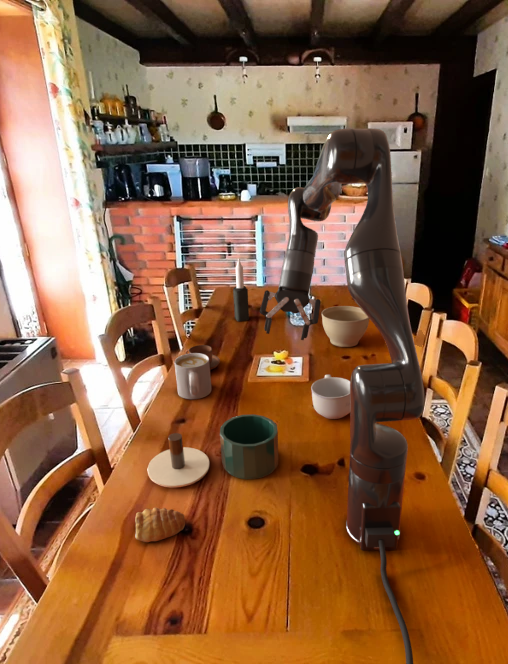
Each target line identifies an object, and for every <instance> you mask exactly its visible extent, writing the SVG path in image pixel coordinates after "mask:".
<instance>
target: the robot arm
mask: <svg viewBox="0 0 508 664" xmlns="http://www.w3.org/2000/svg"><path fill="white" fill-rule="evenodd" d="M391 157H392V156H391V147H390V142H389V139H388V136H387V134H386V132H385V131H384V130H382V129H380V128H373V127H371V128H340V129H339V128H338V129H335V130H333V131H332V132H330V134H329V135H328V136H327V137H326V139H325V141H324V144H323V145H322V148H321V151H320V154H319V157H318V159H317V163H316V165H315V166H316V167H315V169H314V173H313V175H312V177H311V178H310V180H308V182H307V183H306V185H305V186H304V187H300V186H299V187H298V186H297V187H295V188H294V189H293V190H292V191H291V192H290V193H289V195H288V199H287V213H288V221H289V223H288V225H289V226H288V227H289V228H288V230H289V231H288V239H287V246H286V251H285V255H284V258H283V262H282V267H281V272H280V278H279V283H278V287H277V288H278V289H277V291H276V292H273V291H269V290H267V289H266V290H264V292H263V293H264V294H263V297H262V301H261V305H260V309H259V314H260V315H262V316H263V317H265V322H264V327H263V329H264V331H265V332H266V333H265V334H267V335H270V332H271V328H272V321H273V319H272V318H273V317H274V316H275V315H277V313H278V312H279V311H282V312H284V313H291V314H299V316H300V317H301V319H302V321H303V322H304V323H303V325H302V331H301V336H300V341H305V339H307V338H308V335H309V329H310V326H312V325H316V324H318V323H319V318H320V311H321V303H322V302H321V299H319V298H317V299H314V298H310V297H309V296H310V295H309V294H310V290H311V285H312V279H313V274H314V268H315V257H316V251H317V247H318V240H319V234H318V232H317V231H316V230H314V229H312V228H310V227H308V226H306V225H305V224H304V223H303V221H302V220H303V219H304V220H307V221H312V222H323V221H325V220H327V218H328V217H329V215H330V213H331V210H332V204H333V203H335V201H337V199H338V197H340V194H341V192H342V185H363V184H365V186H366V189H367V199H366V206H365V208H364V211H363V213H362V215H361V217H360V219H359V220H358V222H357V224H356V226H355V227H354V230H353V231H352V233H351V235H350V237H349V239H348V241H347V243H346V246H345V248H344V253H343V254H344V259H343V260H344V268H345V276H346V277H345V279H346V286H347V289H348V292H349V295H350V296H351V298H352V300H353V301H354V302H355V304H357V307H358V308H361V310H362V311H363V312H364V313H365V314H366V315H367V317H368V318H369V321H371V322H372V324H373V325H374V326H375V328H376V329H377V330H378V332H379V333H380V335H381V337H382V338H383V340H384V342H385V345H386V348H387V350H388V353H389V357H390V360H391V362H389V363H374V364H373V363H372V364H371V363H370V364H361V365H357V366H356V367H354V368H353V369H352V372H351V375H350V380H349V381H350V413H349V414H350V416H349V417H350V420H349V436H350V437H349V440H350V444H349V464H348V484H347V485H348V487H347V507H346V511H347V512H346V522H345V530H346V534H347V536H348V537H349V539H350V540H351V541H352V542H354V543H355V544H357V545H358V546H359V548H360V550H361V551H379V554H380V576H381V580H382V584H383V587H384V590H385V592H386V594H387V597H388V599H389V601H390V604H391V607H392V610H393V613H394V615H395V617H396V620H397V623H398V625H399V629H400V632H401V636H402V640H403V645H404V653H405V664H414V655H413V647H412V642H411V637H410V634H409V630H408V626H407V623H406V622H405V618H404V617H403V613H402V611H401V609H400V606H399V604H398V601H397V598H396V596H395V594H394V591H393V589H392V586H391V584H390V581H389V579H388V573H387V568H388V567H387V565H388V563H387V562H388V561H387V552H386V551H396V550H397V549H398V542H399V540H400V538H401V537H400V536H401V523H402V522H401V520H402V509H403V500H404V490H405V489H404V488H405V480H406V479H405V478H406V470H407V459H408V452H409V451H408V450H409V445H408V441H407V439H406V437H405V435H403V434H402V433H401V432H400V431H398V430H397V429H396V428H394V427H392V426H389V425H386V424H384V423H386V422H387V423H388V422H402V421H415V420H417V419H420V417H422V415H423V413H424V409H425V404H426V403H425V402H426V401H425V397H426V395H425V388H424V387H425V386H424V380H423V376H422V369H421V367H420V361H419V358H418V353H417V349H416V348H417V347H416V345H415V340H414V335H413V331H412V326H411V322H410V315H409V308H408V301H407V291H406V282H405V274H404V267H403V266H404V265H403V260H402V259H403V258H402V253H401V247H400V241H399V236H398V231H397V230H398V229H397V223H396V216H395V207H394V197H393V196H394V194H393V175H392V174H393V173H392V158H391ZM273 298H275V301H276V303H277V304H276V305H275V306H274V307H273V308H271V309H270V310H269V311H267V308H268V303H269V301H272V299H273ZM309 304H310V305H311V308H312V309H313V316H312V319H310V318H309V316H308V314H307V313H306V311H305V307H307V306H308V305H309ZM382 423H383V424H382Z"/></svg>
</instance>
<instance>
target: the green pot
mask: <svg viewBox="0 0 508 664" xmlns="http://www.w3.org/2000/svg"><path fill="white" fill-rule="evenodd" d="M219 440H220V453H221V454H220V456H221V464H222V467H223V468H224V471H225V472H226V473H227V474H229V475H230V476H232V477H235V478H237V479H242V480H257V479H262V478H265V477H267V476H269V475H271V474H272V473H274V471H275V470H276V469H277V467H278V465H279V431H278V425H277V424H276V422H274V421H273V419H272V418H269V417H267V416H265V415H260V414H254V413H252V414H239V415H236V416H233V417H230V418H228V419H226V420H225V421H224V422H223V423H222V425H221V426H220V428H219Z"/></svg>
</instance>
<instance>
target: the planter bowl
mask: <svg viewBox="0 0 508 664" xmlns="http://www.w3.org/2000/svg"><path fill="white" fill-rule="evenodd" d="M321 318H322V319H321V320H322V326H323V329H324V332H325V334H326V335H327V337H328V338H329V340H330V344H332V345H333V346H336V347H339V348H352V347H355V346H357V345H359V342H360V340H361V339H362V337H363V336H364V335H365V334H366V332H367V329H368V327H369V324H370V319H369V318H368V317H367V315H366V314H365V313H364V312H363V311H362V310H361V308H360V307H359V306H352V305H351V306H350V305H338V306H330V307H327V308H325V309H323V310H322V311H321Z"/></svg>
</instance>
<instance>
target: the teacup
mask: <svg viewBox="0 0 508 664" xmlns="http://www.w3.org/2000/svg"><path fill="white" fill-rule="evenodd" d="M310 389H311V397H312V398H311V399H312V405H313V409H314V411H315V412H316V413H317V414H319V415H320V416H322V417H324V418H325V419H329V420H337V419H338V420H339V419H342V418H344V417H346V416H347V415H348V414H350V380H349V379H348V378H347V379H346V378H344V377H336V376H335V377H334V376H333V377H332V374H325V375H324V377H323V378H320V379H317V380H315V381H314V382H313V383H312V384H311V387H310Z"/></svg>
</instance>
